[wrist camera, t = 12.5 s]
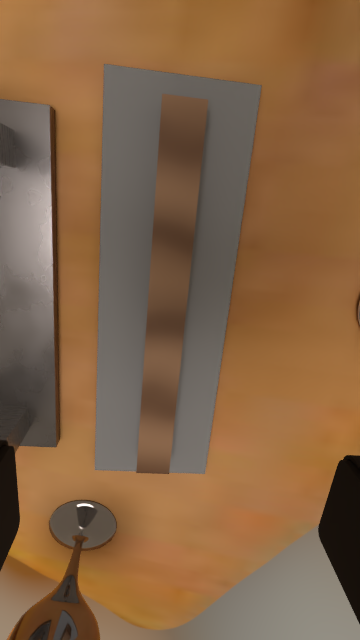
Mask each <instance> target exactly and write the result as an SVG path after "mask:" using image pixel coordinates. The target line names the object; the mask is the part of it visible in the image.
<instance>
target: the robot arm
mask: <svg viewBox="0 0 360 640" xmlns="http://www.w3.org/2000/svg"><path fill="white" fill-rule="evenodd" d="M19 522H20V514H19V501H18V488H17V475H16V462H15V450H14V447H13V446H9V445H8V442H7V440H0V570H1V568H2V566H3V563H4V561H5V559H6V557H7V555H8V552H9V550H10V548H11V545H12V543H13V541H14V539H15V536H16V534H17V531H18V528H19ZM318 532H319V537H320V540H321V543H322V544H323V547H324V549H325V551H326V553H327V555H328V558H329V560H330V562H331V564H332V566H333V568H334V570H335V572H336V575H337V577H338V579H339V581H340V583H341V585H342V587H343V590H344V592H345V594H346V596H347V598H348V600H349V602H350V604H351V607H352V609H353V611H354V613H355V615H356V617H357V619H358V621H359V624H360V456H354V455H347V456H345V457H344V459H343V460H341V461H339V463H338V466H337V469H336V472H335V475H334V479H333V482H332V485H331V488H330V492H329V495H328V498H327V501H326V504H325V508H324V511H323V514H322V517H321V520H320V524H319V528H318Z"/></svg>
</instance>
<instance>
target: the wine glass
mask: <svg viewBox="0 0 360 640" xmlns="http://www.w3.org/2000/svg"><path fill="white" fill-rule="evenodd" d="M49 528H50V532H51V535H52V536H53V538H54V539H55V540H56V541H57V542H58V543H59V544H61V545H62V546H64V547H66V548H69V549H72V550H73V553H72V556H71V559H70V562H69V565H68V568H67V570H66V573H65V575H64V577H63V579H62V581H61V582H60V583H59V585H58V586H57V587H56V588H55V589H54V590H53V591H52V592H51V593H49V594H48V595H47V596H45V597H44V598H43V599H41V600H40V601H39V602H37V603H36V604H35V605H33V606H32V607H31V608H30V609H29V610H28V611H27V612H25V614H23V615H22V616H21V618H20V619H19V621H18V622H17V623H16V625H15V626H14V628H13V629H12V631H11V633H10V634H9V636H8V638H7V640H100V633H99V627H98V623H97V621H96V618H95V616H94V614H93V613H92V611H91V609H90V608H89V606H88V605H87V603H86V601H85V600H84V598H83V597H82V595H81V592H80V590H79V586H78V568H79V560H80V554H81V551H89V550H94V549H98V548H100V547H102V546H104V545H106V544H107V543H108V542H109V541H110V540H111V539H112V538H113V536H114V534H115V532H116V528H117V525H116V520H115V517H114V515H113V514H112V513H111V511H110V510H109V509H107V508H106V507H105V506H103V505H101V504H99V503H97V502H93V501H88V500H77V501H71V502H68V503H65V504H63V505H61V506H60V507H59V508H57V509H56V510H55V511H54V512H53V514H52V516H51V518H50V521H49Z"/></svg>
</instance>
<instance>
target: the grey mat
mask: <svg viewBox="0 0 360 640" xmlns="http://www.w3.org/2000/svg"><path fill="white" fill-rule="evenodd" d="M261 86H262V85H256V84H248V83H241V82H234V81H226V80H219V79H211V78H204V77H197V76H189V75H182V74H175V73H167V72H160V71H153V70H145V69H138V68H130V67H123V66H116V65H108V64H104V93H103V137H102V180H101V224H100V268H99V311H98V355H97V398H96V442H95V470H111V471H136V470H137V455H138V441H139V426H140V411H141V397H142V382H143V367H144V353H145V338H146V323H147V309H148V294H149V279H150V264H151V250H152V235H153V220H154V206H155V191H156V176H157V162H158V147H159V132H160V118H161V103H162V94H169V95H177V96H184V97H192V98H200V99H208V108H207V117H206V127H205V136H204V146H203V156H202V165H201V175H200V184H199V194H198V203H197V213H196V222H195V232H194V241H193V251H192V260H191V270H190V279H189V289H188V298H187V308H186V318H185V327H184V337H183V346H182V356H181V365H180V375H179V384H178V394H177V403H176V413H175V422H174V432H173V441H172V451H171V460H170V470H169V473H197V474H205V469H206V462H207V455H208V449H209V442H210V435H211V428H212V421H213V414H214V408H215V401H216V394H217V387H218V380H219V373H220V367H221V360H222V353H223V346H224V339H225V332H226V326H227V319H228V312H229V305H230V298H231V291H232V285H233V278H234V271H235V264H236V257H237V250H238V244H239V237H240V230H241V223H242V216H243V209H244V202H245V196H246V189H247V182H248V175H249V168H250V161H251V155H252V148H253V141H254V134H255V127H256V120H257V114H258V107H259V100H260V93H261Z"/></svg>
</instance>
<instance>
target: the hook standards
mask: <svg viewBox="0 0 360 640" xmlns="http://www.w3.org/2000/svg"><path fill="white" fill-rule="evenodd" d="M0 440H7V442H8V445H9V446H13V447H14V450H15V453H16V451H17V449H18V447H19V446H37V447H57V444H58V442H59V440H60V414H59V349H58V285H57V221H56V157H55V110H54V109H53V108H52V107H51V106H50V105H44V104H36V103H28V102H20V101H12V100H4V99H0Z"/></svg>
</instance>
